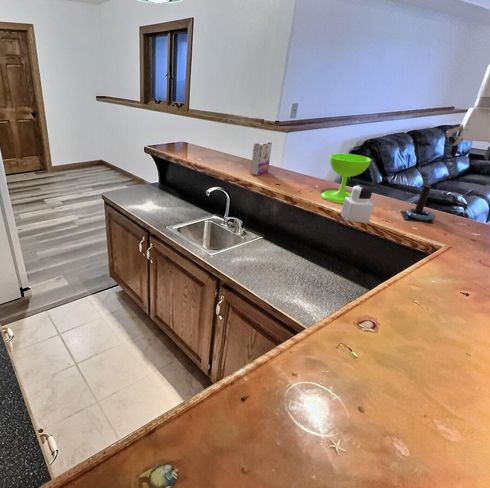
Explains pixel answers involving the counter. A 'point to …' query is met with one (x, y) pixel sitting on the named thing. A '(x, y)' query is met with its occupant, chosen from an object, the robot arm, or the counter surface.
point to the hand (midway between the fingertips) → (469, 158)
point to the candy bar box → (261, 157)
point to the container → (358, 205)
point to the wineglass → (345, 173)
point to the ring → (428, 214)
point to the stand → (419, 206)
